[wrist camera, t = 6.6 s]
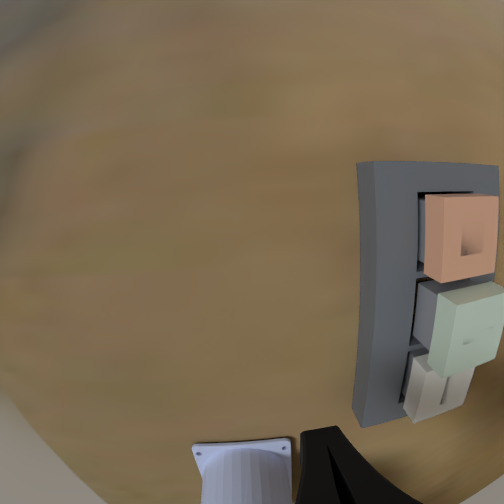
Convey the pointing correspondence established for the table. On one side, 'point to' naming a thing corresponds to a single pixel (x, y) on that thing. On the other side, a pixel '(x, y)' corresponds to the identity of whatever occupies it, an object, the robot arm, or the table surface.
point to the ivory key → (431, 388)
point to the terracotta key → (457, 235)
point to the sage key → (459, 323)
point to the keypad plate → (397, 271)
